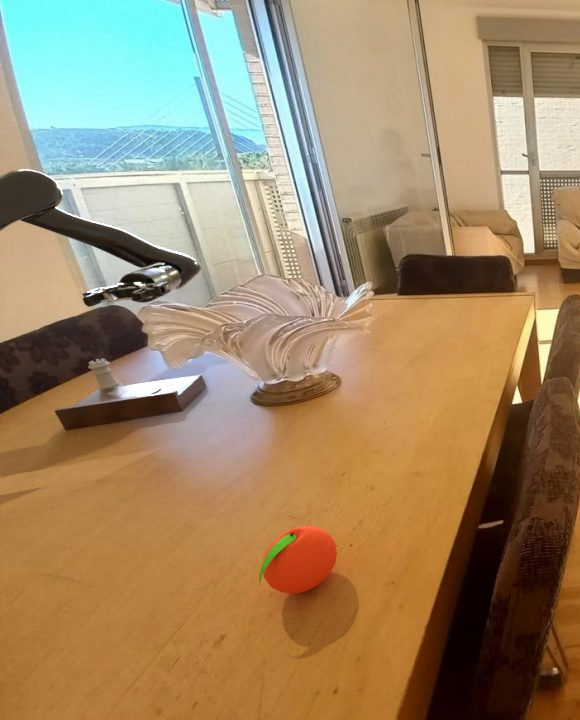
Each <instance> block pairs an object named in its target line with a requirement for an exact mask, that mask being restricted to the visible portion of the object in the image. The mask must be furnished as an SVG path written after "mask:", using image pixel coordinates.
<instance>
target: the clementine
mask: <svg viewBox="0 0 580 720" xmlns="http://www.w3.org/2000/svg"><path fill="white" fill-rule="evenodd" d="M337 555H338V550H337V545H336V541H335V539H334V538H333V536H332V535H331V534H330V533H328V532H327V531H326V530H325V529H323V528H320V527H317V526H312V525H306V526H299V527H295V528H292V529H290V530H287V531H285V532H283V533H281V534H280V535H279V536H278V537H277V538H276V539H275V540H273V541H272V542H271V543H270V545H269V546H268V547H267V549H266V551H265V553H264V556H263V559H262V563H261V566H260V570H259V575H258V583H259V585H258V586H260V585H261V581H262V578H264V580H265V581H266V583H267V584H268V585H269V586H270V588H272V589H274V590H275V591H277V592H280V593H284V594H293V595H295V594H301V593H303V592H307V591H310V590H311V589H314V588H315V587H317V586H319V585H320V584H321V583H323V582H324V581H325V580H326V579H327V578H328V576H329V575H330V574H331V572H332V570H333V568H334V567H335V565H336V560H337ZM262 576H263V577H262Z"/></svg>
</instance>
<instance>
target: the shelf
mask: <svg viewBox="0 0 580 720" xmlns="http://www.w3.org/2000/svg"><path fill="white" fill-rule="evenodd" d="M207 387H208V386H207V384H206V382H205V379H204V377H203V375H202V374H198V375H196V374H195V375H190V376H184V377H177V378H169V379H163V380H155V381H147V382H142V383H136V384H135V383H134V384H128V385H125V386H121V387H114V388H107V389H100V390H98V389H96V390H94V391H92V392H91V393H89V394H88V395H87V396H85V397H84V398H82V399H81V400H80V401H77V402H76V403H75V404H74V405H71V406H65V407H58V408H56V409H54V413H55V415H56V416H57V418H58V420H59V422H60V424H61V426H62V427H63V429H64V431H69V430H75V429H81V428H87V427H94V426H99V425H107V424H112V423H119V422H125V421H130V420H136V419H143V418H148V417H155V416H161V415H167V414H174V413H179V412H183V411H184V410H185V409H186V408H187V407H188V406H190V404H191V403H192V402H193V401H194V400H195V399H196V398H197V397H198V396H199V395H200V394H201V393H202V392H203V391H204V390H205V389H206V388H207Z"/></svg>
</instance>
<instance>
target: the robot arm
mask: <svg viewBox="0 0 580 720" xmlns="http://www.w3.org/2000/svg"><path fill="white" fill-rule="evenodd" d="M62 200H63V190H62V188H61V186H60V185H59V184H58V182H57V181H56V180H54V179H53V178H52V177H51V176H48V175H46V174H44V173H43V172H40V171H36V170H31V169H13V170H10V171H6V172H5V173H3V174H1V175H0V232H2V231H3V230H4V229H6V228H8V227H9V226H11V225H12V224H15V223H16V222H22V223H23V222H24V223H26V224H28V225H31V226H35V227H38V228H41V229H45V230H46V231H50V232H52V233H55V234H58V235H61V236H64V237H66V238H69V239H72V240H74V241H78V242H80V243H83V244H86V245H88V246H91V247H93V248H95V249H98V250H101V251H102V252H105V253H107V254H109V255H111V256H113V257H116V258H117V259H120V260H122V261H124V262H126V263H129V264H130V265H132V266H135V267H137V268H140V269H137V270H135V271H132V272H130V273H126V274H124V275H123V276H122V277H121V278H120V280H119V282H118V283H116V284H115V285H111V286H106V287H101V286H100V287H99V286H98V287H96V288H93V289H90V290H87V291H84V292H82V293H81V295H82V297H83V298H82V301H83V303H84V305H85V306H86V307H89V308H90V307H94V306H96V305H97V306H98V305H99V304H101V303H106V302H107V303H116V302H120V301H121V302H122V301H129V300H130V301H132V302H136V303H145V304H146V303H151V302H152V301H155V300H157V299H158V298H161V297H164V296H165V295H167V294H169V293H171V292H172V291H178V290H181V289H182V288H183V287H185V286H186V285H187V284H189V282H191V281H192V280H193V279H194V278H196V276H198V275H199V273H201V270H202V268H201V265H200V263H199V262H198V261H197V260H196V259H195V258H193V257H192V256H190V255H187V254H185V253H182V252H178V251H174V250H171V249H167V248H165V247H160V246H158V245H155V244H152V243H150V242H148V241H146V240H144V239H142V238H141V237H138V236H137V235H135V234H133V233H131V232H129V231H126V230H124V229H121V228H119V227H115V226H112V225H108V224H104V223H100V222H97V221H93V220H89V219H85V218H82V217H79V216H77V215H73V214H71V213H68V212H66V211H64V210H62V209H61V208H58V206H59V205H60V204H61V203H62ZM114 297H115V298H114Z"/></svg>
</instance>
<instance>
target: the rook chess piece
mask: <svg viewBox="0 0 580 720" xmlns="http://www.w3.org/2000/svg"><path fill="white" fill-rule="evenodd" d="M110 363H111V362H110V361H107V359H106V358H96V359H95V361H94V360H90V361H88V367H87V369H89V370H92V371H93V372H92V374H93V375H94V376H95V378H96V381H97V390H100V389H107V388H114V387H121V386H126V385H125V383H122V382H121V381H119V380H118V379H117V378H116V377H115V375H114V374H113V373H112V369H111V368H110Z"/></svg>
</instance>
